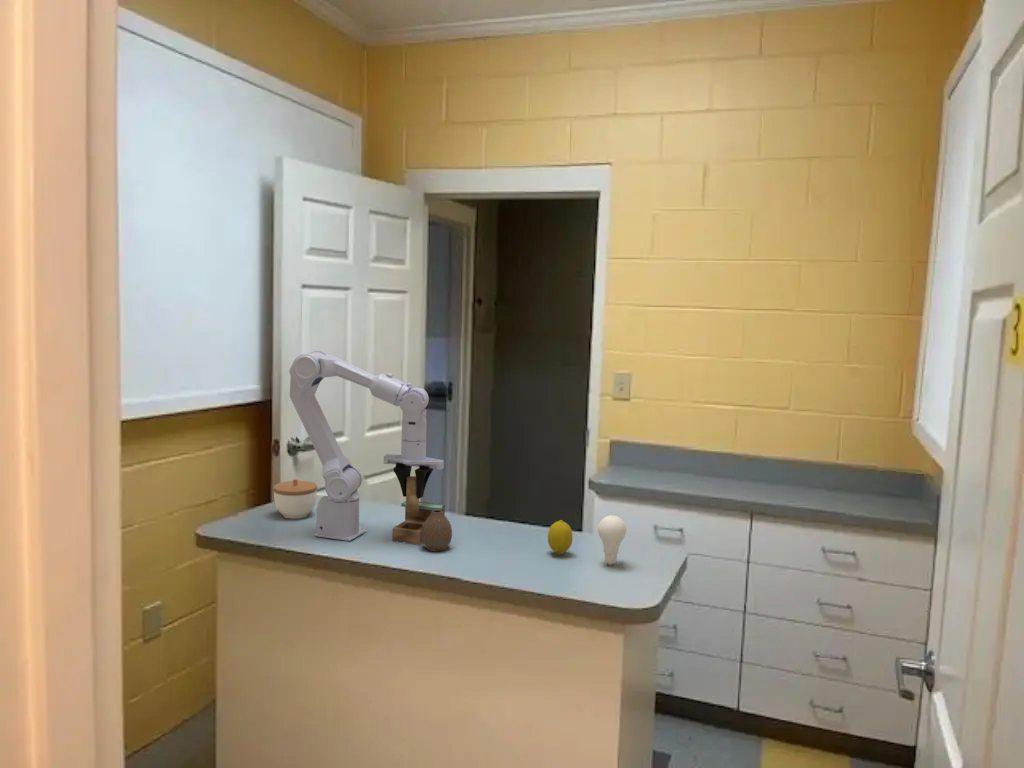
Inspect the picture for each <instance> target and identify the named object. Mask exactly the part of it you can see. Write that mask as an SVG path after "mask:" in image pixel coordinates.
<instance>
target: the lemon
mask: <svg viewBox="0 0 1024 768" xmlns="http://www.w3.org/2000/svg"><path fill="white" fill-rule="evenodd" d="M549 527H550V528H549V529H548V533H547V542H548V546H549V548H550V549H551V550H552V551H554V552H555V553H557V555H559V556H560V555H562V554H563V553H564V552H567V551H568V550H569V549H570V548H571V546H572V543H573V530H572V527H571V526H570V525H569V524H568V523H566V521H563V520H562V519H560V520H558V521H555V522H553V524H551V525H550V526H549Z"/></svg>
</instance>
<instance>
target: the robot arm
mask: <svg viewBox="0 0 1024 768" xmlns="http://www.w3.org/2000/svg"><path fill="white" fill-rule="evenodd" d="M288 372H289V375H290V379H289V380H290V381H289V382H290V385H289V398H290V401H291V402H292V404H293V407H294V408H295V410H296V412H297V415H298V417H299V420H301V423H302V425H303V428H304V429H305V431H306V433H307V436H308V438H309V441H310V442H311V443H312V446H313V448H314V450H315V452H316V455H317V456H318V458H319V460H320V463H321V464H322V472H321V473H322V477H323V479H324V480H323V481H324V482H325V483H324V484H325V486H324V490H325V493H326V495H324V496H322V497H321V498H320V499H319V500H318V502H317V507H316V533H314V537H317V538H318V537H319V538H326V539H333V540H338V541H339V540H340V541H345V542H351V541H353V540H354V539H357V538H358V537H359V536H361V535H363V534H364V533H366V532H367V529H365V528H363V529H362V528H360V494H359V492H358V489H359V488H360V487H361V485H362V482H363V478H362V477H363V476H362V474H361V472H360V471H359V470H358V469H357V468H356V467H355V466H354V465H353V464H352V461H351V459H349V458H348V457H347V456H346V455H344V453H343V451H342V450H341V447H340V445H339V443H338V441H337V439H336V437H335V435H334V433H333V430H332V428H331V426H330V425H329V423H328V420H327V418H326V416H325V414H324V411H323V409H322V408H321V405H320V404H319V401H318V400H317V398H316V392H317V390H318V388H319V385H320V383H321V382H322V381H323V379H325V378H333V377H339V378H341V379H344V380H346V381H350V382H352V383H355V384H357V385H360V386H362V387H365V388H367V389H369V391H370V393H371V396H373V397H374V398H377V399H379V400H382V401H383V402H386V403H388V404H390V405H393V406H395V407H400V410H401V411H402V417H401V418H402V419H401V445H400V446H401V448H400V449H401V451H400V454H385V455H383V464H384V465H390V464H391V465H395V466H394V467H393V473H394V474H395V476H396V478H397V480H398V482H399V485H400V486H399V487H400V490H401V493H402V497H405V498H406V478H407V477H410V476H411V472H412V467H417V468H416V469H415V470H414V474H415V476H416V481H417V498H419V499H421V498H423V497H424V493H425V490H426V486H427V483H428V481H429V478H430V477H431V475H432V472H433V471H434V469H436V470H437V471H438V470H439V471H442V470H443V469H444V468H445V465H444V464H445V460H444V459H438V458H432V457H428V456H427V429H428V428H427V427H428V426H427V425H428V424H427V409H426V408H427V406H428V404H429V400H430V397H429V394H428V392H427V391H426V390H425V389H424V388H422V387H421V386H420V385H414V386H412V383H411V382H407V383H406V382H404V381H402V380H400V379H397V378H395V377H393V376H394V374H393V373H390V372H387V373H386V374H385V373H379V374H377V375H375V374H372V373H370V372H368V371H366V370H365V369H362V368H360V367H358V366H356V365H353V364H351V363H349V362H347V361H346V360H344V359H342V358H339V357H337V356H335V355H333V354H326V353H325V352H323V351H321V350H315V351H312V352H309V353H303V354H299V355H298V356H296V357H295V359H294V360H293V362H292V364H291V366H290V368H289V370H288Z"/></svg>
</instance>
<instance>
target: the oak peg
mask: <svg viewBox="0 0 1024 768" xmlns="http://www.w3.org/2000/svg"><path fill="white" fill-rule="evenodd" d="M405 501H406V512H408V513H417V512H419V502H420V498H417V481H416V475H414V476H411V475H410V477H407V478H406V497H405Z"/></svg>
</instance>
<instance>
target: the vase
mask: <svg viewBox="0 0 1024 768" xmlns="http://www.w3.org/2000/svg"><path fill="white" fill-rule="evenodd" d="M452 537H453V528H452V525H451V522H450V521H449V519H448V518H447V516H446V514H445V515H444V513H443V511H442V510H433V511H432V512H431V514H430V516H429V517H428V518H427V519H426V521H425V522H424V524H423V527H422V541H423V543H422V544H423V545H424V547H425V548H427V550H429V551H433V552H441V551H444V550H446V549H447V548H448V547H449V546H450V543H451V541H452Z"/></svg>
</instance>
